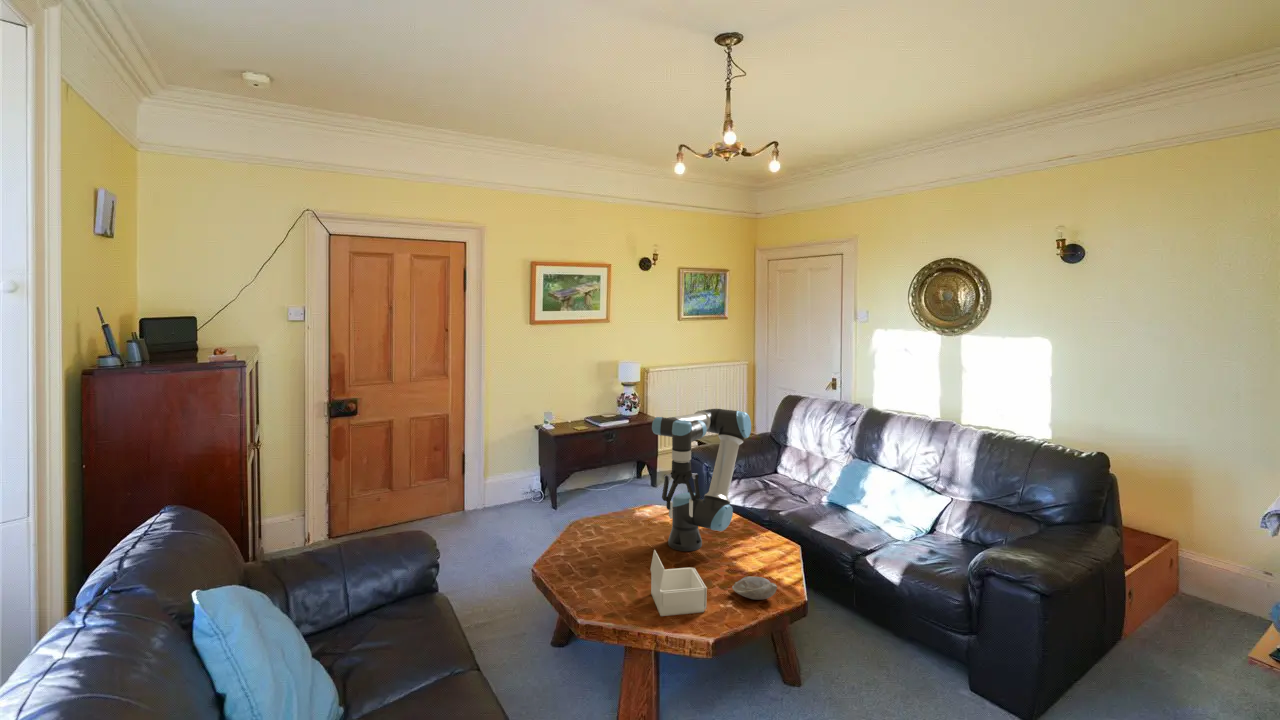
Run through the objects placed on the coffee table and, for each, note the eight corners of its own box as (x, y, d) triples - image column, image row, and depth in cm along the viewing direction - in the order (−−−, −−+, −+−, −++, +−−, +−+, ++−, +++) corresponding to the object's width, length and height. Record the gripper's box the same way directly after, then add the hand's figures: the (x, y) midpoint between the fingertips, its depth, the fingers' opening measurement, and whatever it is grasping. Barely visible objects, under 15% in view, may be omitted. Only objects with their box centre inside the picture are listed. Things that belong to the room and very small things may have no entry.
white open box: (693, 588, 229) (694, 566, 228) (707, 612, 212) (707, 588, 211) (650, 592, 226) (651, 570, 225) (660, 617, 209) (661, 592, 208)
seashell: (726, 581, 225) (755, 570, 216) (746, 579, 233) (775, 568, 223) (733, 607, 221) (763, 597, 212) (754, 604, 228) (783, 594, 219)
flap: (655, 549, 223) (654, 549, 223) (664, 568, 208) (663, 568, 208) (651, 570, 224) (650, 570, 224) (660, 590, 209) (659, 590, 208)
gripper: (703, 456, 239) (703, 511, 241) (653, 458, 235) (653, 514, 237) (709, 461, 231) (708, 518, 234) (657, 464, 227) (657, 521, 230)
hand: (680, 516), depth 236 cm, fingers open, 8 cm apart
